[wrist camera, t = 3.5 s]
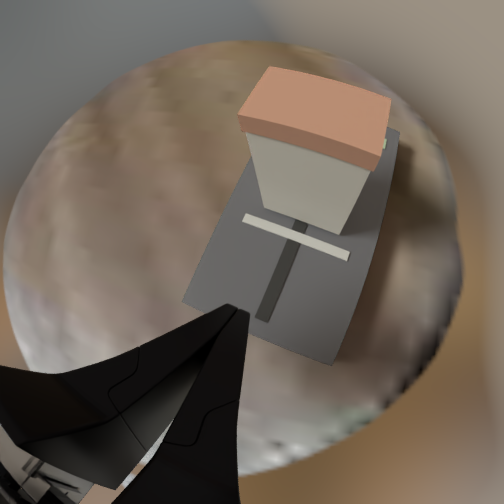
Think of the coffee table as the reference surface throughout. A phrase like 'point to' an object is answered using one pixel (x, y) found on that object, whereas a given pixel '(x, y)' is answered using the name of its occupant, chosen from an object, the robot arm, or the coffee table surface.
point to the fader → (313, 144)
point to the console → (292, 264)
